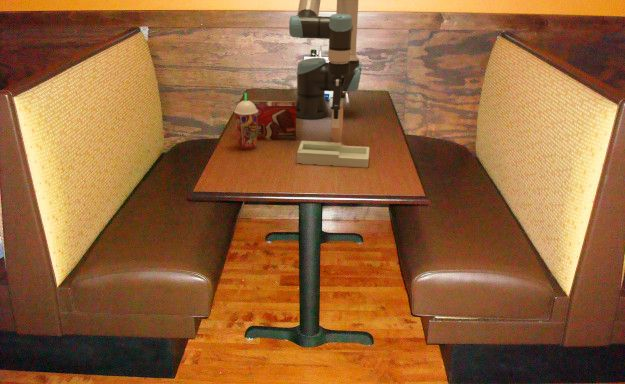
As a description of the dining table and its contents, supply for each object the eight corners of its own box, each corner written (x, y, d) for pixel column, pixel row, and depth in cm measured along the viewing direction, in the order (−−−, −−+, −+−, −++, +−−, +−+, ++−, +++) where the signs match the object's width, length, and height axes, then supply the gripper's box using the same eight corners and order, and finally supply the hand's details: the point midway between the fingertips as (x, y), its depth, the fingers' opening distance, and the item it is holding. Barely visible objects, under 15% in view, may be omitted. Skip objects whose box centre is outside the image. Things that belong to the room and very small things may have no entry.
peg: (327, 144, 215) (329, 105, 209) (345, 145, 215) (347, 106, 208) (326, 150, 209) (327, 110, 203) (344, 151, 209) (346, 111, 202)
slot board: (301, 151, 208) (301, 140, 207) (368, 155, 206) (369, 144, 205) (297, 163, 198) (297, 152, 196) (368, 167, 195) (368, 156, 194)
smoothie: (255, 152, 207) (253, 97, 198) (232, 150, 208) (230, 95, 200) (261, 144, 214) (260, 90, 206) (239, 142, 216) (237, 89, 207)
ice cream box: (295, 134, 225) (295, 101, 219) (295, 140, 219) (296, 106, 214) (243, 134, 224) (242, 100, 219) (242, 140, 218) (241, 105, 213)
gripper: (348, 69, 187) (345, 133, 196) (352, 55, 210) (349, 112, 218) (325, 68, 188) (323, 131, 196) (331, 54, 210) (329, 111, 219)
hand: (337, 121), depth 207 cm, fingers open, 13 cm apart
